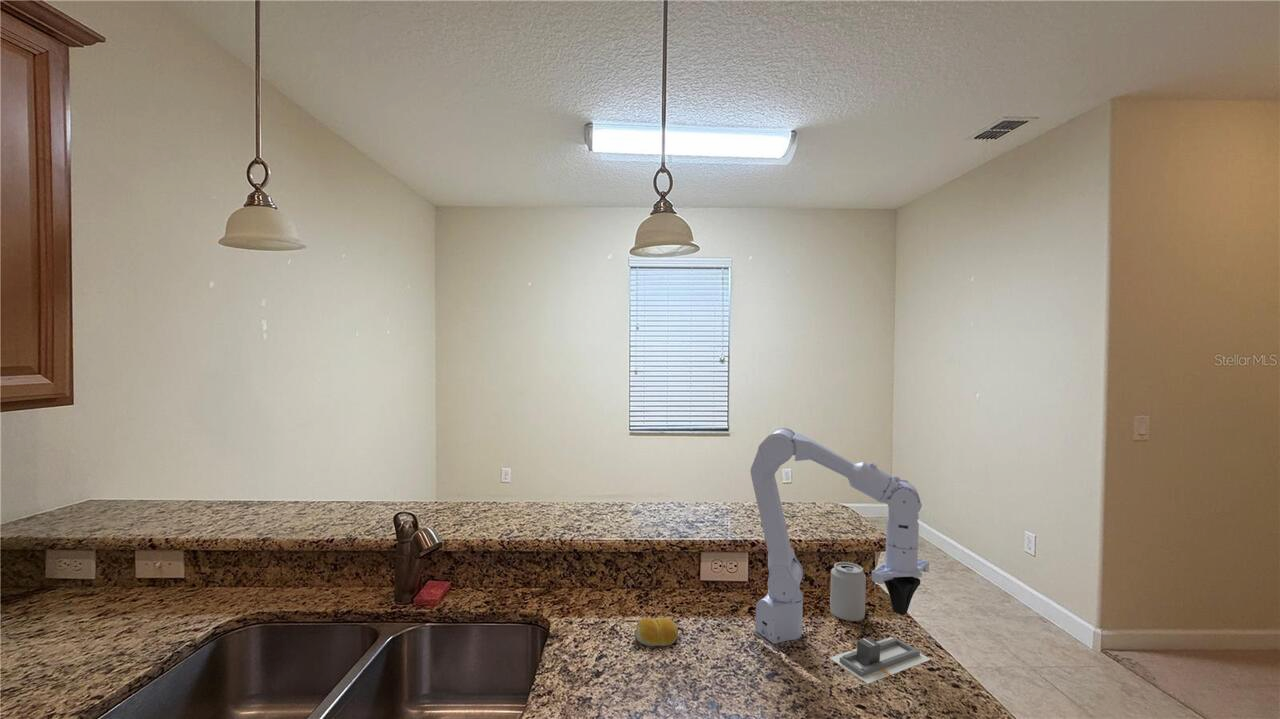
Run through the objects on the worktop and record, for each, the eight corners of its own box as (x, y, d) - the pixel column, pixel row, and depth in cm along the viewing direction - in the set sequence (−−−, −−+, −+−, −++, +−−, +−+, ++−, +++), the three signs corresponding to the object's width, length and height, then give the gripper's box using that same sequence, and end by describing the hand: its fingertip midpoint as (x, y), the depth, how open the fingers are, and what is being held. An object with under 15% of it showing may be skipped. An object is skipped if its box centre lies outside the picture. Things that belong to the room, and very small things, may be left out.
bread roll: (682, 646, 110) (682, 627, 109) (639, 649, 108) (639, 630, 108) (672, 626, 118) (673, 608, 118) (632, 628, 116) (633, 610, 116)
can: (858, 611, 126) (860, 560, 126) (869, 627, 119) (870, 574, 118) (826, 609, 127) (827, 558, 127) (834, 625, 119) (836, 571, 119)
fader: (868, 668, 101) (869, 647, 101) (856, 660, 103) (857, 640, 103) (879, 664, 102) (880, 643, 102) (867, 657, 105) (867, 636, 105)
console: (867, 690, 96) (867, 678, 96) (829, 663, 104) (829, 652, 104) (931, 665, 104) (931, 654, 104) (890, 642, 112) (891, 632, 112)
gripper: (895, 557, 98) (892, 630, 98) (944, 545, 105) (942, 613, 105) (863, 544, 104) (861, 613, 105) (911, 534, 111) (909, 598, 111)
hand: (899, 612), depth 105 cm, fingers closed
